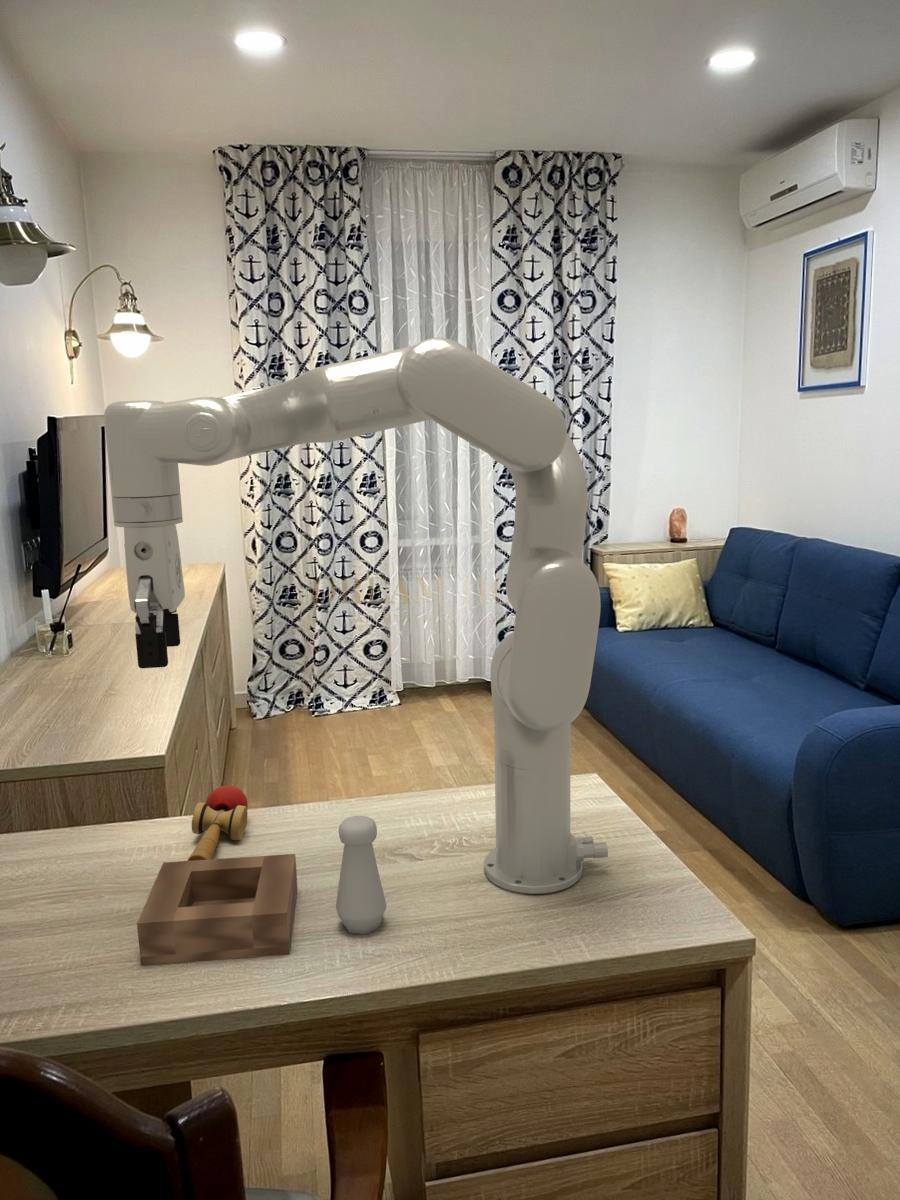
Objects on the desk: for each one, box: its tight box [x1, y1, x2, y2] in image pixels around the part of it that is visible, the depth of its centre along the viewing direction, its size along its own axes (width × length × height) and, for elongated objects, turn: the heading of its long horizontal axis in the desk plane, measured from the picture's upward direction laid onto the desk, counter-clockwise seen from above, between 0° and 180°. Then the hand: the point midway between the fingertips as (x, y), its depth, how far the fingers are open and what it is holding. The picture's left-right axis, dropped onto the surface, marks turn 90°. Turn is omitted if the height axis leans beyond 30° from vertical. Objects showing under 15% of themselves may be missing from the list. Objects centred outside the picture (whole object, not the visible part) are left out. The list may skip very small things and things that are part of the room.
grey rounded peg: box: [335, 815, 387, 935], centre depth 107 cm, size 6×6×13 cm
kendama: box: [187, 784, 249, 861], centre depth 130 cm, size 8×6×18 cm
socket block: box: [136, 853, 298, 966], centre depth 109 cm, size 16×14×5 cm
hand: (160, 656), depth 110 cm, fingers open, 9 cm apart
